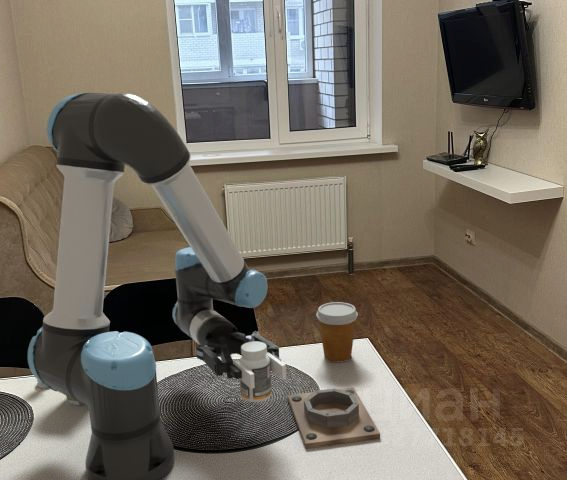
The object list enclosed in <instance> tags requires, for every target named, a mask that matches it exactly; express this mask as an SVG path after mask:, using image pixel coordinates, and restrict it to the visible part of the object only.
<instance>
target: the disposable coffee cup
mask: <svg viewBox="0 0 567 480" xmlns="http://www.w3.org/2000/svg"><path fill="white" fill-rule="evenodd" d="M315 316H316V318H317V320H318V323H319V324H318V325H319V331H320V336H321V343H322V349H323V355H324V358H325V360H327V361H329V362H332V363H342V362H347V361H349V360H350V359H351V358H352V354H353V353H352V351H353V345H354V336H355V328H356V320H357V317H358V312H357V310H356V307H355V305H353V304H351V303H348V302H341V301H337V302H336V301H334V302H333V301H332V302H328V303H324V304H322V305H320V306H319V307H318V308H317V312H316V315H315Z"/></svg>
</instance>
